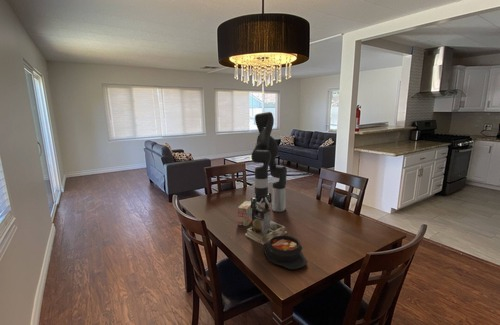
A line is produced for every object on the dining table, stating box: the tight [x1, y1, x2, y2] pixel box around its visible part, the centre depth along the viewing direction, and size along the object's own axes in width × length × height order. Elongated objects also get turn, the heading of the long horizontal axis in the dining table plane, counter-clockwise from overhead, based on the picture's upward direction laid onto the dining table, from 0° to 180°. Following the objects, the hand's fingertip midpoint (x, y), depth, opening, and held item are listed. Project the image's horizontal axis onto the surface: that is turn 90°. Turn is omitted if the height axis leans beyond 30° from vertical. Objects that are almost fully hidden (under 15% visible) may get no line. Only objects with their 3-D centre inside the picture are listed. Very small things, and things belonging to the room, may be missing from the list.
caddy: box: [244, 219, 288, 246], centre depth 150 cm, size 20×15×5 cm
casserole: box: [263, 234, 308, 270], centre depth 126 cm, size 25×19×8 cm
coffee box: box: [251, 205, 271, 236], centre depth 146 cm, size 9×6×16 cm
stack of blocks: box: [237, 200, 258, 227], centre depth 170 cm, size 21×6×12 cm, turn 158°
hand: (261, 212), depth 145 cm, fingers open, 8 cm apart
